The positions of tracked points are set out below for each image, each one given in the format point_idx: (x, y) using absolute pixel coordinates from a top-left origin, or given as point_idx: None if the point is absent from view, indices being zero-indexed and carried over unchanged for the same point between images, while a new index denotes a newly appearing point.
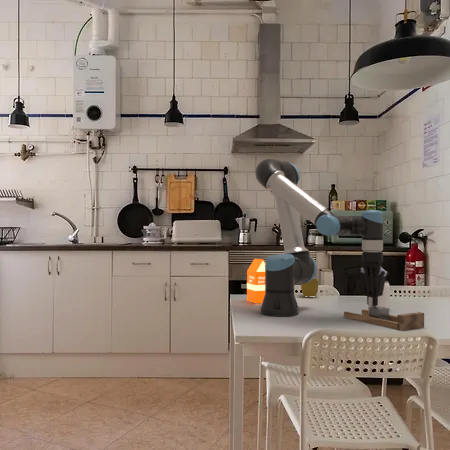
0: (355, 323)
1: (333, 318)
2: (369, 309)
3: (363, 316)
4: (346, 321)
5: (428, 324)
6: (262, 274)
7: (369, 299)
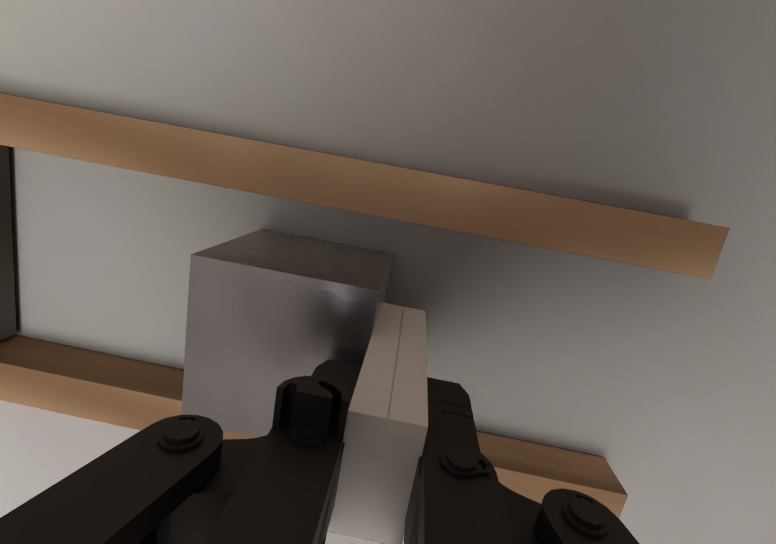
0: (405, 9)
1: (744, 46)
2: (374, 280)
3: (401, 168)
4: (535, 21)
5: (31, 487)
6: None
7: (401, 395)
